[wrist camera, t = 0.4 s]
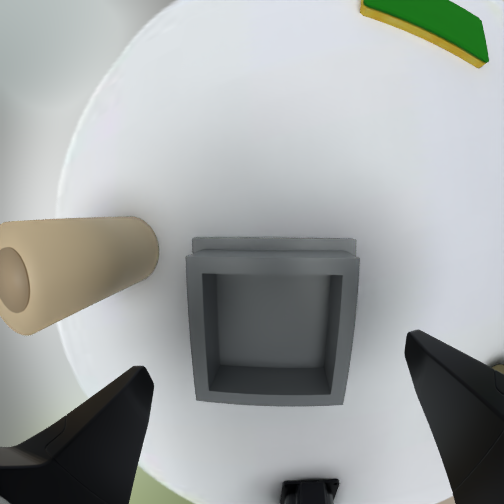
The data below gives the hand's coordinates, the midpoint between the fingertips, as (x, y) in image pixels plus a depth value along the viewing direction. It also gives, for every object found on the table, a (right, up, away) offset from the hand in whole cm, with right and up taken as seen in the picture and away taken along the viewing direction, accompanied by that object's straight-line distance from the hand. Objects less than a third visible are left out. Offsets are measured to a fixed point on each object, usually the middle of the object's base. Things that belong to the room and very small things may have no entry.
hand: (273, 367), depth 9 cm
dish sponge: (+17, +28, +9) cm, 34 cm away
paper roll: (-11, +4, +14) cm, 18 cm away
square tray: (+1, -1, +14) cm, 14 cm away
